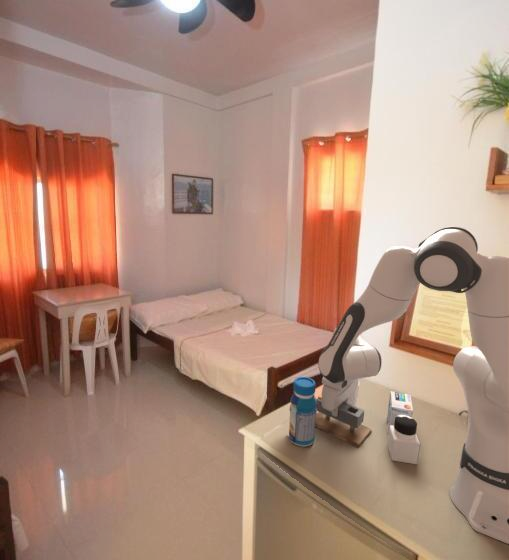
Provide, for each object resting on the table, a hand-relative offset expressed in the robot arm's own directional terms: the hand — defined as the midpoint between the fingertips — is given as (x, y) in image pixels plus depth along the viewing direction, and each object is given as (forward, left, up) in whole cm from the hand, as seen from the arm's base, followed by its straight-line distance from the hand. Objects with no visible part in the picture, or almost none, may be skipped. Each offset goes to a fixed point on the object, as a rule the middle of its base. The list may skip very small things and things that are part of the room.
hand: (339, 410), depth 110 cm
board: (0, -1, -7) cm, 7 cm away
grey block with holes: (0, 0, -2) cm, 2 cm away
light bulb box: (-15, -14, -7) cm, 21 cm away
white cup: (+4, -15, -7) cm, 17 cm away
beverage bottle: (+6, +13, -7) cm, 16 cm away
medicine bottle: (-20, -2, -7) cm, 21 cm away
